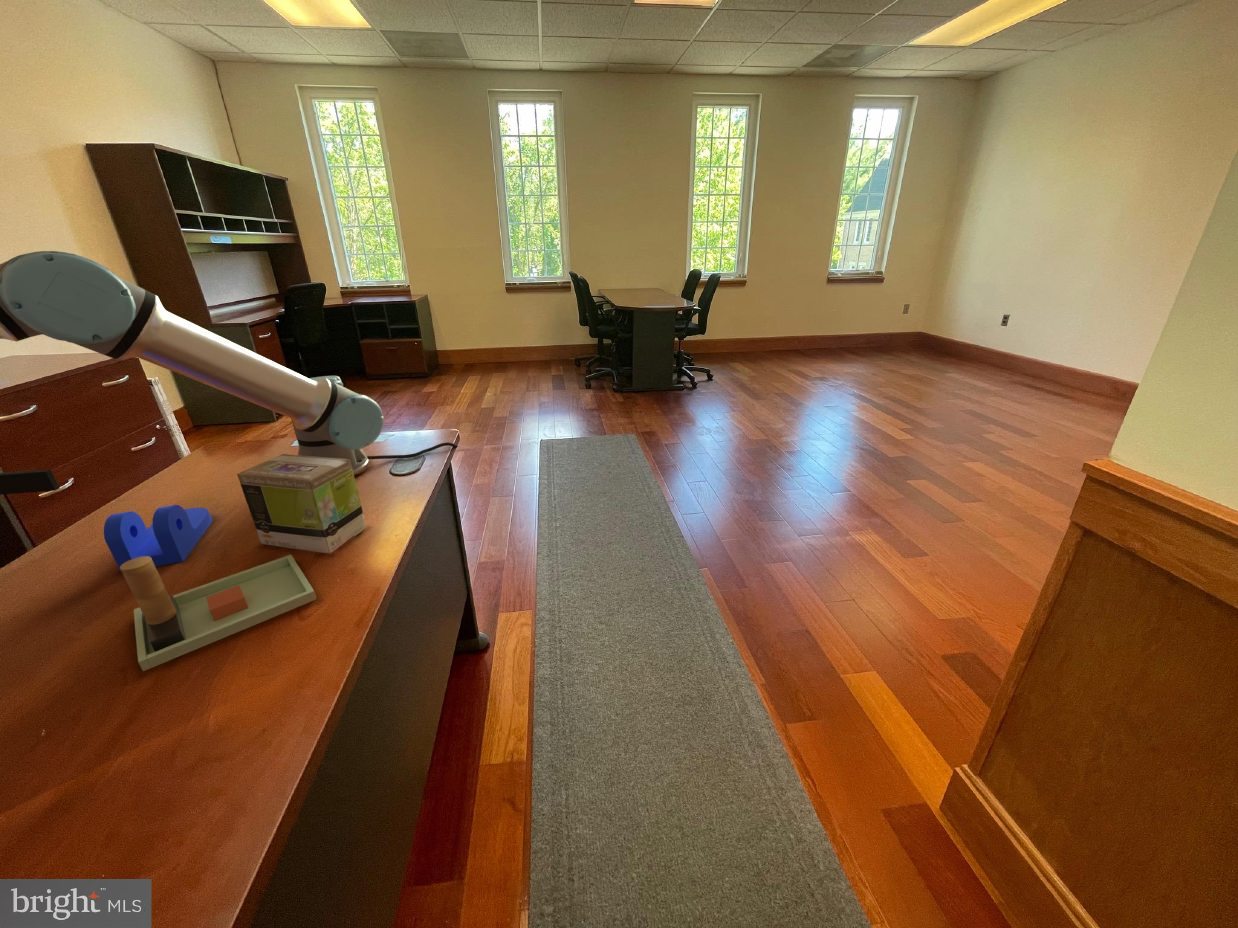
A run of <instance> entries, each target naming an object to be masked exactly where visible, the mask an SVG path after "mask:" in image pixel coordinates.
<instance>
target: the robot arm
mask: <svg viewBox="0 0 1238 928" xmlns="http://www.w3.org/2000/svg"><path fill="white" fill-rule="evenodd" d="M41 335H43V336H45V337H48V338H51V339H53V340H57V341H62V342H67V343H70V344H71V343H72V344H74V345H76V346H79V347H82V348H86V349H87V350H90V351H93V352H95V353H98V354H100V355H102V356H105V357H109V358H111V359H114V360H116V361H121V360H127V359H131V358H138V359H141V360H143V361H145V362H148V363H151V364H154V365H155V366H158V367H160V368H163V369H166V370H168V371H171V372H172V373H173V372H174V373H176V374H178V375H181V376H183V377H186V378H189V379H191V380H193V381H196V382H198V383H201V384H204V385H206V386H208V387H212V388H214V389H216V390H218V391H222V392H224V393H227V394H229V395H232V396H234V397H237V398H240V399H242V400H245V401H247V402H249V403H252V404H254V405H257V406H259V407H262V408H265V409H268V410H269V411H272V412H275V413H277V414H280V415H282V416H285V417H287V418H290V420H291V424H292V428H293V430H294V435H295V437H296V440H297V444H298V452H297V455H302V456H314V457H326V458H339V459H349V460H350V462H351V466H352V469H353V474H354V478H355V477H358V476H359V475H361V474H362V473H364V472H366V471H367V470H368V469H369V467H370V462H369V460H391V459H392V460H393V459H411V458H416V457H419V456H420V455H423V454H426V453H429V452H432V451H435V450H437V449H439V448H442V447H452V448H459V446H458V445H457V444H456V443H453V442H441V443H439V444H436V445H433V446H432V447H428V448H425V449H423V450H422V449H421V450H420V451H417V452H415V453H414V452H413V453H409V454H388V455H387V454H384V455H383V454H382V455H367V454H366V453H365V451H364V448H366V447H368V446H371V444H373V443H374V442H375V441H376V440H377V439H378V438H379V436H380V435H381V433H382V431H383V427H384V421H385V420H384V414H383V411H382V409H381V407H380V405H379V404H378V402H376V401H375V400H373V399H372V398H371V397H369V395H368V396H367V395H365V394H359V393H357V392H355V391H352V390H351V389H348V388H347V387H344V383H343V382H342V379H341V378H340V376H338V375H324V376H323V375H322V376H316V377H310V378H308V377H307V376H304V375H302V374H300V373H298V372H297V371H294V370H292V369H290V368H287V367H285V366H284V365H281V364H279V363H277V362H275V361H273V360H271V359H270V358H267V357H265V356H262V355H261V354H258V353H256V352H254V351H252V350H250V349H248V348H246V347H243V346H242V345H240V344H238V343H235V342H233V341H231V340H229V339H227V338H224V337H223V336H220V335H219V334H216V333H214V332H212V331H209V330H208V329H205V328H203V327H201V326H199V325H197V324H195V323H193V322H192V321H189V320H187V319H185V318H182V317H180V316H179V315H176V314H174V313H172V312H170V311H168V310H166V309H165V307H164V306H163V304H162V301H161V300H160V298H159V296H158V295H156V294H154V293H152V292H150V291H149V290H146V289H145V288H143V287H141V286H138V285H136V284H135V283H132V282H130V281H128V280H126V279H124V278H122V277H120V276H118V275H117V274H115V272H113V271H110V269H109V268H107V267H105V266H104V265H102V264H100V263H98V262H97V261H94V260H93V259H89V258H87V257H84V256H82V255H78V254H74V253H71V252H64V251H58V250H55V251H54V250H39V251H31V252H27V253H23V254H19V255H16V256H14V257H11V258H10V259H8V260H6V261H4V262H1V263H0V339H1V340H7V341H11V342H16V343H17V342H21V341H23V340H26V339H29V338H33V337H37V336H41ZM60 488H61V487H60V485H59V484H58V482H57V480H56V478H55V476H54V473H53V472H52V470H51V469H38V470H23V471H21V470H20V471H9V472H4V471H3V469H2V467H0V496H4V495H16V494H29V493H31V494H32V493H41V492H55V491H57V490H59V489H60Z"/></svg>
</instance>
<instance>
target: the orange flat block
mask: <svg viewBox="0 0 1238 928" xmlns="http://www.w3.org/2000/svg"><path fill="white" fill-rule="evenodd" d="M206 599H207V602H208V606H209V609H210V612H211V614H212V616H213V619H214V621H216V620H219V619H221V618H224V617H226V616H229V615H232V614H234V613H237V612H239V611H242V610H244V609H247V608H248V606H247V603H246V600H245V598H244V595H243V593H242V591H241V588H240V586H239V585H238V586H236V587H233V588H230V589H227V590H225V591H222V592H219V593H216V594H214V595H211V596H208V597H206Z"/></svg>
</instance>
